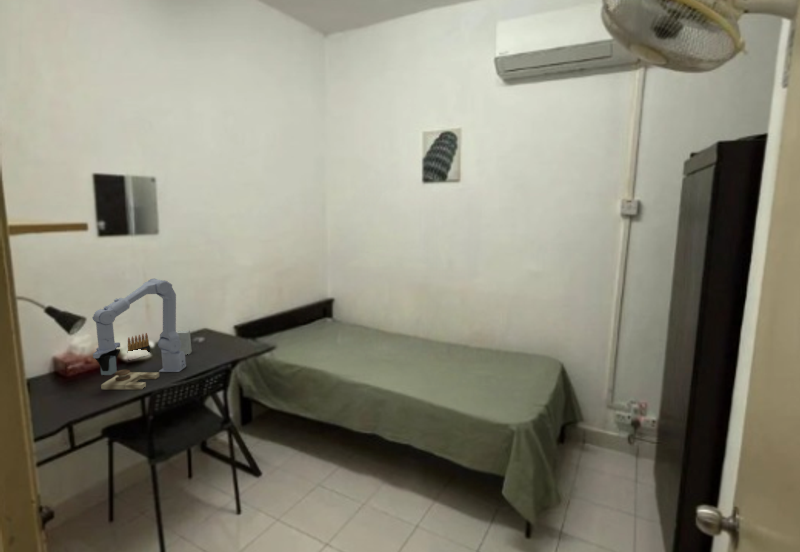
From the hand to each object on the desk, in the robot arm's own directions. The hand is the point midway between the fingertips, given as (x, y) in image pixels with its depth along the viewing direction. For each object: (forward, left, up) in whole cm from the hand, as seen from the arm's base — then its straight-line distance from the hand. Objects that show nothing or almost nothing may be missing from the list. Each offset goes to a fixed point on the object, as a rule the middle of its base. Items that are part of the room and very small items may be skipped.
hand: (109, 368), depth 182 cm
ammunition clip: (+9, -38, -9) cm, 40 cm away
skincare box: (-11, -44, -9) cm, 46 cm away
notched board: (-5, -6, -9) cm, 12 cm away
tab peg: (0, 0, -2) cm, 2 cm away
